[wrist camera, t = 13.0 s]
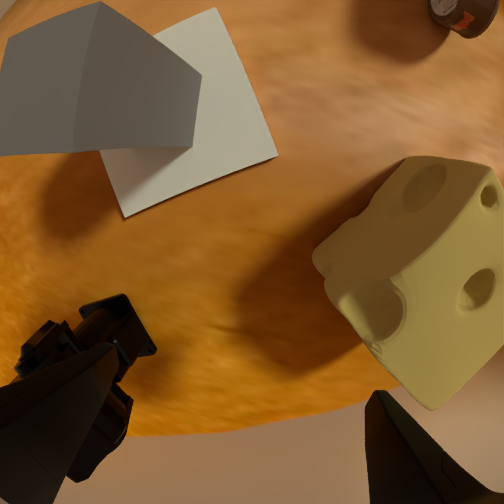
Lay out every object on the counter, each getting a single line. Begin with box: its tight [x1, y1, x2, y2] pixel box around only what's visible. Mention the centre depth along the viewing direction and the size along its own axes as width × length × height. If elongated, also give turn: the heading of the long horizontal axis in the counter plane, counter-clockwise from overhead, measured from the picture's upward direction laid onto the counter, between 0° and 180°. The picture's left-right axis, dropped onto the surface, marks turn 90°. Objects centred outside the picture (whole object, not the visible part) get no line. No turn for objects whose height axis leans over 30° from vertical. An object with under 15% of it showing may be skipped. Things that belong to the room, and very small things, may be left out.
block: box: [0, 1, 202, 156], centre depth 12 cm, size 5×5×12 cm
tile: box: [99, 7, 279, 218], centre depth 18 cm, size 12×12×1 cm
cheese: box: [312, 156, 504, 411], centre depth 15 cm, size 10×11×10 cm
